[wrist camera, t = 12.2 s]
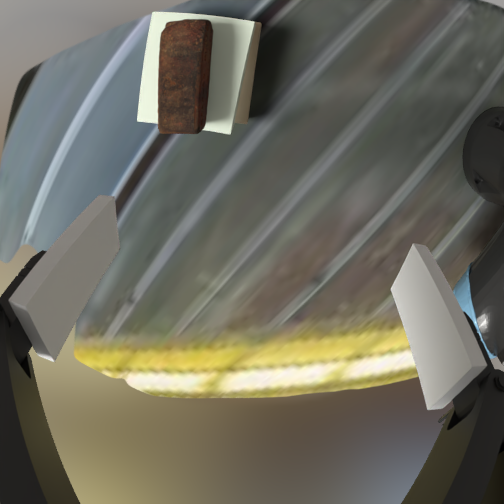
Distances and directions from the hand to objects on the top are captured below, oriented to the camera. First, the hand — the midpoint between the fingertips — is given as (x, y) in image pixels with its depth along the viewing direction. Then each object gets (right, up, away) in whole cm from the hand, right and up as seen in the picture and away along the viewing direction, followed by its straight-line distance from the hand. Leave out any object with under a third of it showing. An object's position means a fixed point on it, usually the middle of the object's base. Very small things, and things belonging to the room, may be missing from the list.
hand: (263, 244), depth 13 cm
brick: (-6, +17, +13) cm, 22 cm away
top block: (-6, +19, +16) cm, 26 cm away
